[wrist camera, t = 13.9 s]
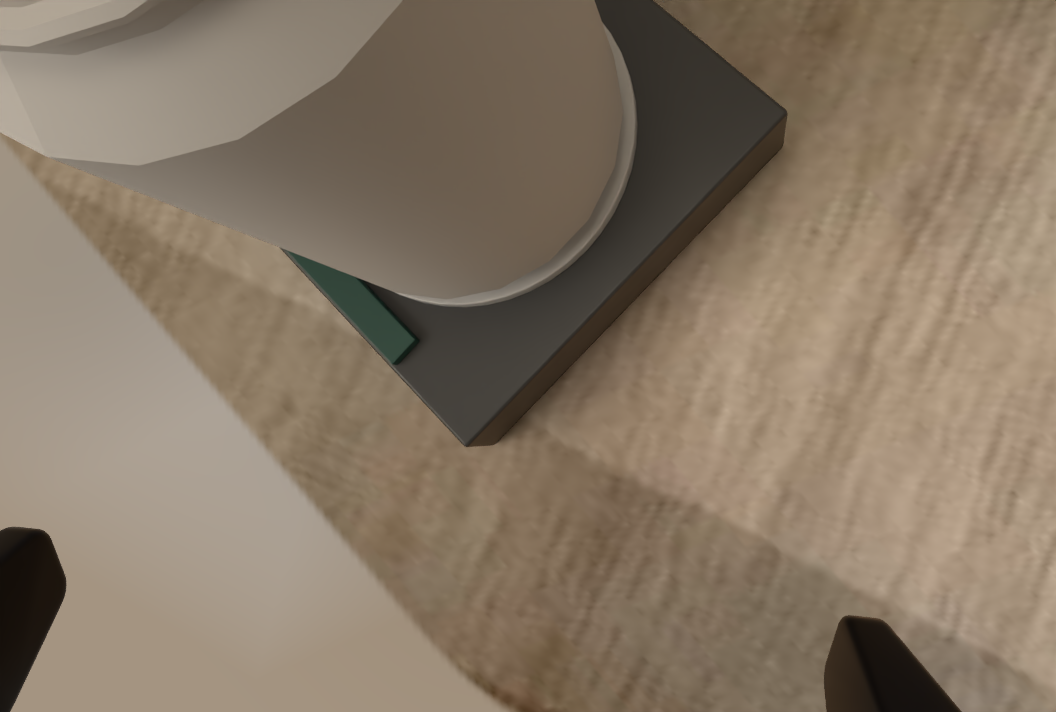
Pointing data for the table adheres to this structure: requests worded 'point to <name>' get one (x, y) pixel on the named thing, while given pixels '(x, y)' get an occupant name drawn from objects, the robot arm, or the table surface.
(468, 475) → the table surface
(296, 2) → the can
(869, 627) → the robot arm
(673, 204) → the scale
